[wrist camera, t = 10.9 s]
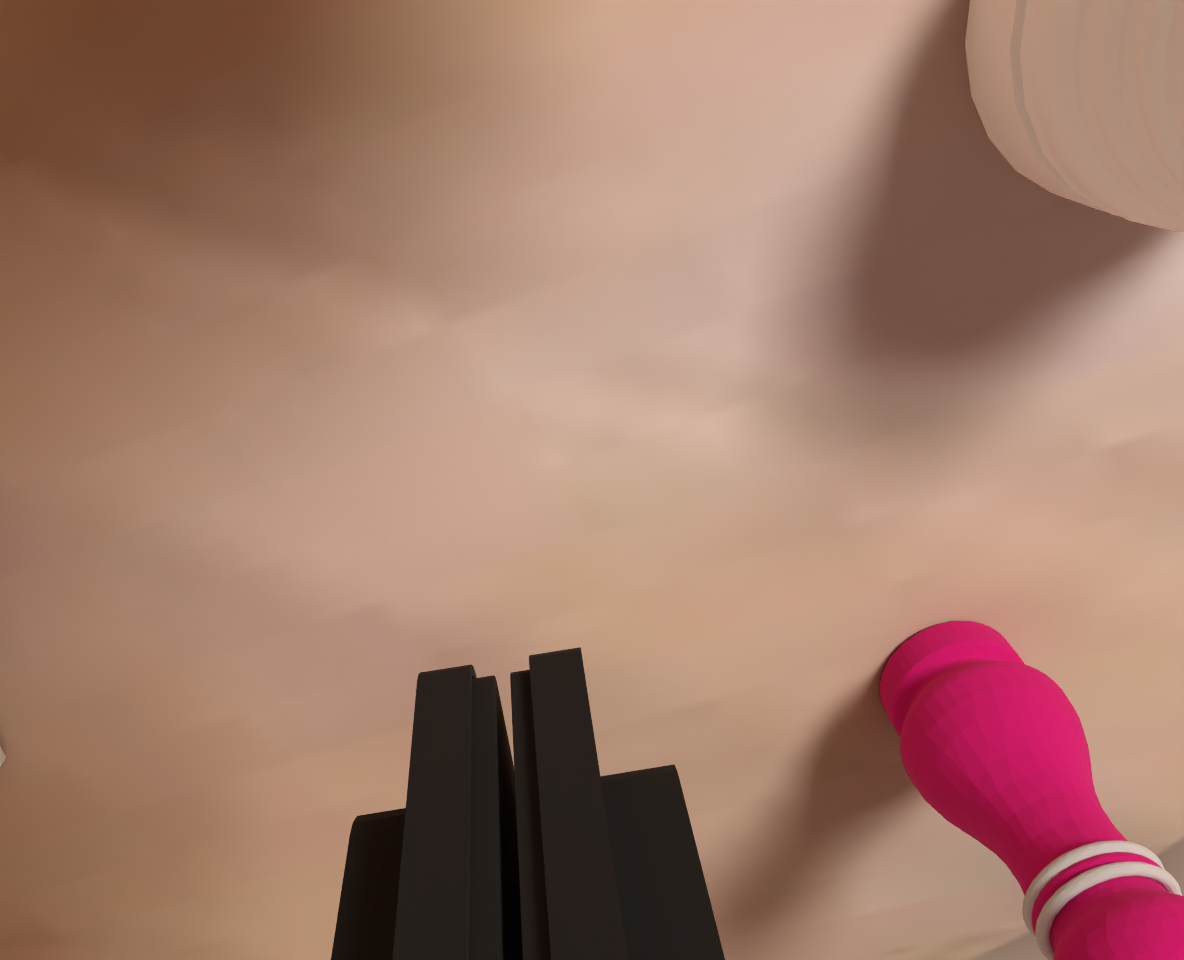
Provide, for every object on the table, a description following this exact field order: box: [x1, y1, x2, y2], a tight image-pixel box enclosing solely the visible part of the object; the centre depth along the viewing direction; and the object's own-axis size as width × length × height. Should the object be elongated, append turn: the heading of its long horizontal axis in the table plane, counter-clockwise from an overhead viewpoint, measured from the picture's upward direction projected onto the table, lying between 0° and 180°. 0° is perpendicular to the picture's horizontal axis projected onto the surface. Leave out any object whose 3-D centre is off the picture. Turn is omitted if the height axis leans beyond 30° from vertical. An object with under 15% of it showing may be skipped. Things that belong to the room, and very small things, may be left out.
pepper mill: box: [880, 621, 1184, 960], centre depth 37 cm, size 7×7×20 cm
